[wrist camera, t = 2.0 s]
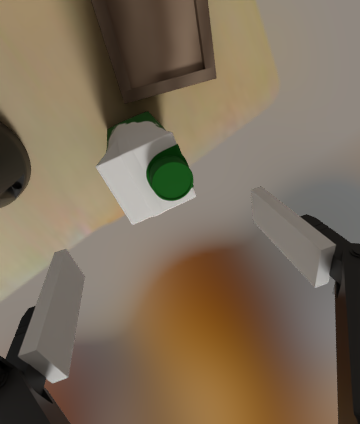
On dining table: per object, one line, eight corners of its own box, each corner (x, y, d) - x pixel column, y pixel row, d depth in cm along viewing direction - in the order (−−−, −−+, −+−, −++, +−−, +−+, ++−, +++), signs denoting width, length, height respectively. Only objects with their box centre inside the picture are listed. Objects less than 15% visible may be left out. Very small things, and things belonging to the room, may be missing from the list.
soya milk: (171, 153, 41) (209, 208, 24) (124, 174, 41) (130, 244, 24) (150, 102, 36) (180, 126, 19) (97, 126, 36) (80, 172, 19)
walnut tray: (124, 101, 35) (124, 103, 33) (83, -25, 27) (80, -33, 25) (210, 78, 36) (216, 78, 34) (194, -50, 28) (200, -60, 26)
